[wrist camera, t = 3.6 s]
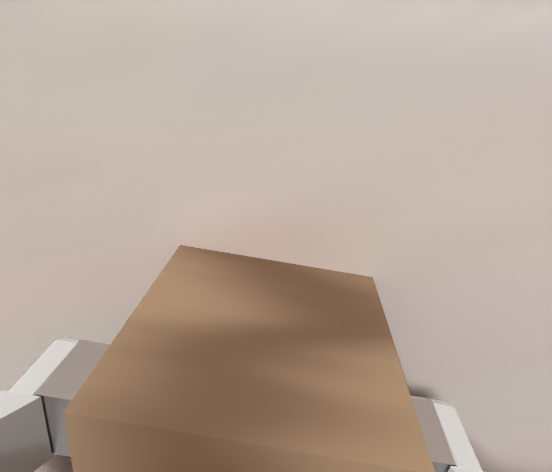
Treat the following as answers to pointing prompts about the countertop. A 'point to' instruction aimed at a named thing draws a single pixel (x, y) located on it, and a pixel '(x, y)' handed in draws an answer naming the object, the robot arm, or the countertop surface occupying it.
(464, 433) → the robot arm
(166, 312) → the walnut block
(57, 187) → the countertop surface
